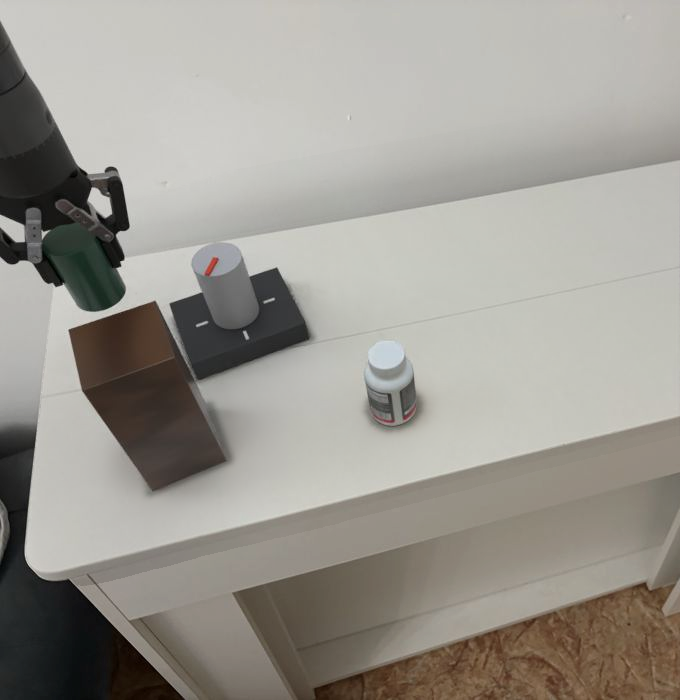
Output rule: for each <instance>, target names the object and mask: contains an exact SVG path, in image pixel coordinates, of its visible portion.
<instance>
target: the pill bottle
mask: <svg viewBox="0 0 680 700" xmlns="http://www.w3.org/2000/svg"><path fill="white" fill-rule="evenodd" d="M366 357H367V362H366V364H365V366H364V368H363V378H364V383H365V388H366V393H367V399H368V403H369V409H370V413H371V415H372V417H373V419H374V420H375V421H377V422H378V423H380V424H382V425H385V426H390V427H391V426H392V427H393V426H399V425H402V424H404V423H406V422H408V421H409V420H411V418H413V416H414V414H416V410H417V407H418V406H417V405H418V404H417V403H418V402H417V401H418V399H417V391H416V381H415V371H414V366H413V363H412V361H411V360H410V359H409V358H408V357H407V355H406V351H405V349H404V347H403V346H402V345H401V344H400V343H399V342H397V341H395V340H390V339H389V340H386V339H385V340H380V341H377V342H376V343H375V344H373V345H372V346H371V347H370V348H369V349H368V352H367V356H366Z"/></svg>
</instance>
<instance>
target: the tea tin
mask: <svg viewBox="0 0 680 700" xmlns="http://www.w3.org/2000/svg"><path fill="white" fill-rule="evenodd" d="M42 249H43V251H44V253H45V254H46V256H47V258H48V259H49V261H50V262H51V264H52V266H53V267H54V269H55V271H56V272H57V274H58V275H59V277H60V279H61V280H62V282H63V286H64V287H65V289H66V290H67V292H68V293H69V295H70V297H71V298H72V300H73V302H74V303H75V305H76V306H77V308H78V309H80V310H82V311H84V312H88V313H89V312H90V313H97V312H103V311H106V310H108V309H111V308H113V307H115V306H116V305H117V304H118V303H120V302H121V301H122V300H123V298H124V297H125V294H126V292H127V287H126V286H127V285H126V284H125V282H124V280H123V278H122V276H121V274H120V272H119V270H118V268H116V269H115V268H114V266H113V264H112V263H111V261H110V259H109V257H108V255H107V253H106V251H105V249H104V247H103V245H102V243H101V240H100V238H99V237H98V236H96V235H95V234H94V233H92V232H91V231H87V230H86V229H84V228H83V227H82V226H80V225H79V224H78V223H77V222H76V223H73V224H69V225H60V226H57V227H56V228H54V229H52V230H49V231H47V233H46V234H45V235H44V236H42Z"/></svg>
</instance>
